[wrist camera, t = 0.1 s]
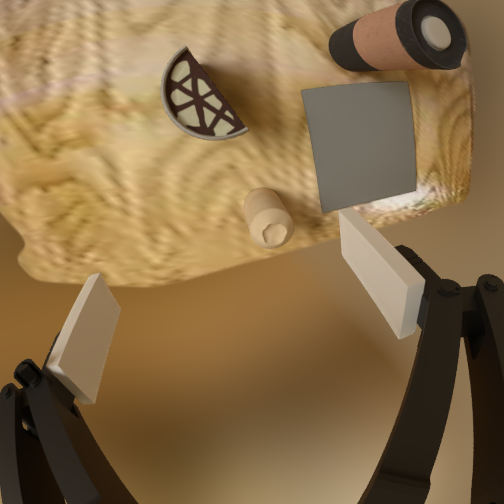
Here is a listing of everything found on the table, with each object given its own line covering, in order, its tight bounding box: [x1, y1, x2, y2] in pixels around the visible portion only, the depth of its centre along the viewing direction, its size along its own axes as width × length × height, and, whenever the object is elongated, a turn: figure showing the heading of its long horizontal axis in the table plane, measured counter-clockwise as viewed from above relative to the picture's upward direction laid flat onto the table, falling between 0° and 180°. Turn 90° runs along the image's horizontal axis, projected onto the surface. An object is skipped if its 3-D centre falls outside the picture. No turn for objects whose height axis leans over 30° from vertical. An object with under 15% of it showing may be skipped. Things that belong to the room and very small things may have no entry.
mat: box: [301, 82, 416, 213], centre depth 40 cm, size 19×18×1 cm
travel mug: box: [329, 0, 468, 71], centre depth 24 cm, size 8×8×20 cm
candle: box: [244, 188, 294, 249], centre depth 39 cm, size 6×6×10 cm
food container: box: [161, 45, 249, 141], centre depth 31 cm, size 12×6×10 cm, turn 33°
